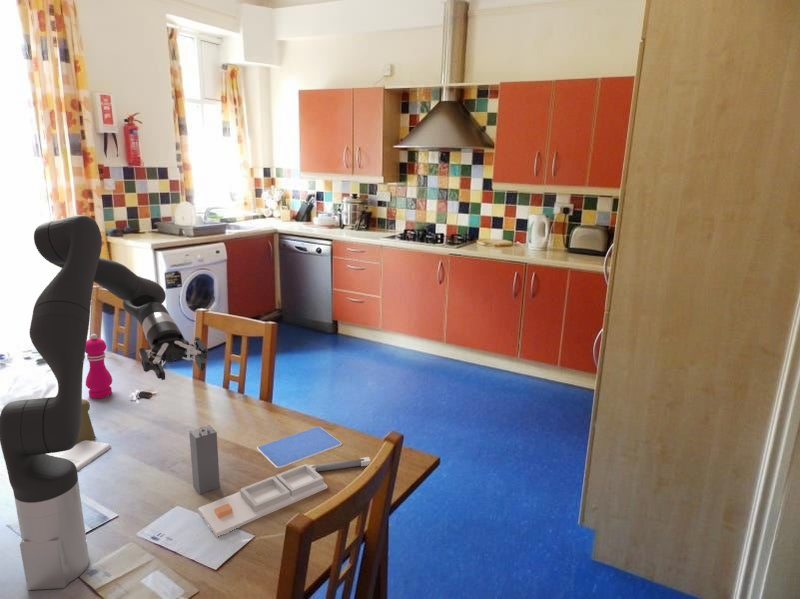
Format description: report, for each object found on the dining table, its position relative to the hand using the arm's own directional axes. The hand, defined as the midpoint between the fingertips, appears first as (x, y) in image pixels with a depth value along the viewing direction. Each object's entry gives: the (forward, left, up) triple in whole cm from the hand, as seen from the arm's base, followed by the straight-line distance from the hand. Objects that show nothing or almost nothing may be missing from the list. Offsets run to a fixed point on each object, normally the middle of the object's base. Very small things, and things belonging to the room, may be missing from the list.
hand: (183, 372), depth 118 cm
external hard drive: (+8, +29, -27) cm, 40 cm away
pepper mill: (+45, +39, -26) cm, 65 cm away
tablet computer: (+10, -25, -27) cm, 38 cm away
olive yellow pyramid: (+17, +32, -26) cm, 45 cm away
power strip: (-12, -19, -26) cm, 34 cm away
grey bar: (-1, -35, -25) cm, 43 cm away
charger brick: (-6, -5, -26) cm, 27 cm away
